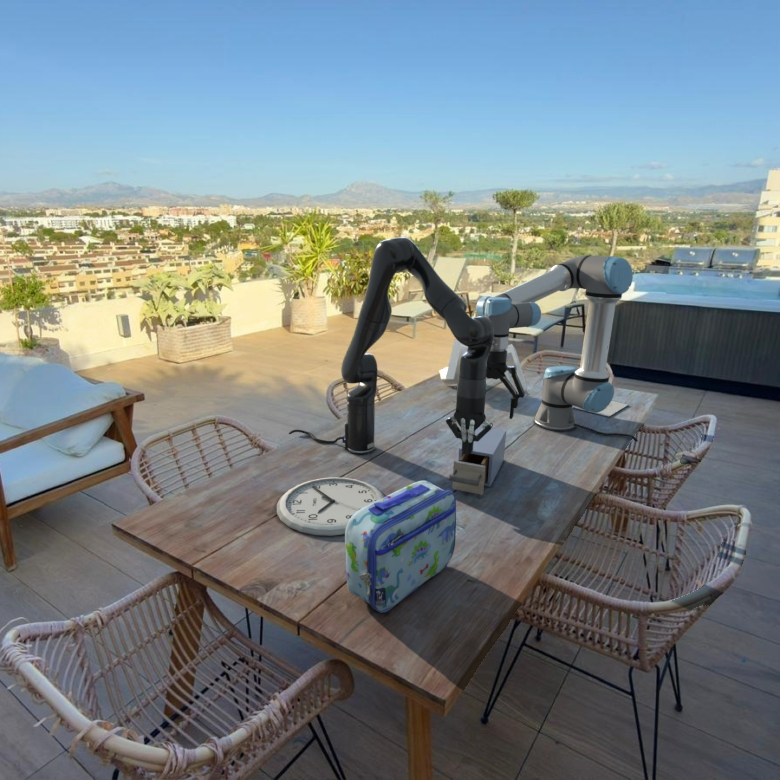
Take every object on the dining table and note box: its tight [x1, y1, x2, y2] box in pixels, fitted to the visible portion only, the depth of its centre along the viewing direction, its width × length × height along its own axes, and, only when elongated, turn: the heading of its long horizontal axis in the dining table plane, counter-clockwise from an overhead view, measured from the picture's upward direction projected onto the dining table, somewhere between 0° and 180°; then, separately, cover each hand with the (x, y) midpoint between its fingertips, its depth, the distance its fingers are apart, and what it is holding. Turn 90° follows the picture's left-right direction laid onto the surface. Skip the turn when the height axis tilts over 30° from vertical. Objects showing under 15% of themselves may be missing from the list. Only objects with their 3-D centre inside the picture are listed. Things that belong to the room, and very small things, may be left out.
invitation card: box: [573, 400, 629, 418], centre depth 226 cm, size 21×1×15 cm
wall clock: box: [276, 476, 386, 537], centre depth 142 cm, size 30×2×30 cm
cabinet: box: [457, 426, 507, 488], centre depth 164 cm, size 20×10×10 cm, turn 157°
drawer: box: [448, 453, 489, 496], centre depth 154 cm, size 25×9×9 cm, turn 157°
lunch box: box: [344, 480, 457, 614], centre depth 109 cm, size 26×11×21 cm, turn 135°
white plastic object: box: [438, 338, 531, 397], centre depth 245 cm, size 37×45×31 cm
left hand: (467, 453), depth 143 cm, fingers closed
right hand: (489, 414), depth 166 cm, fingers open, 13 cm apart
